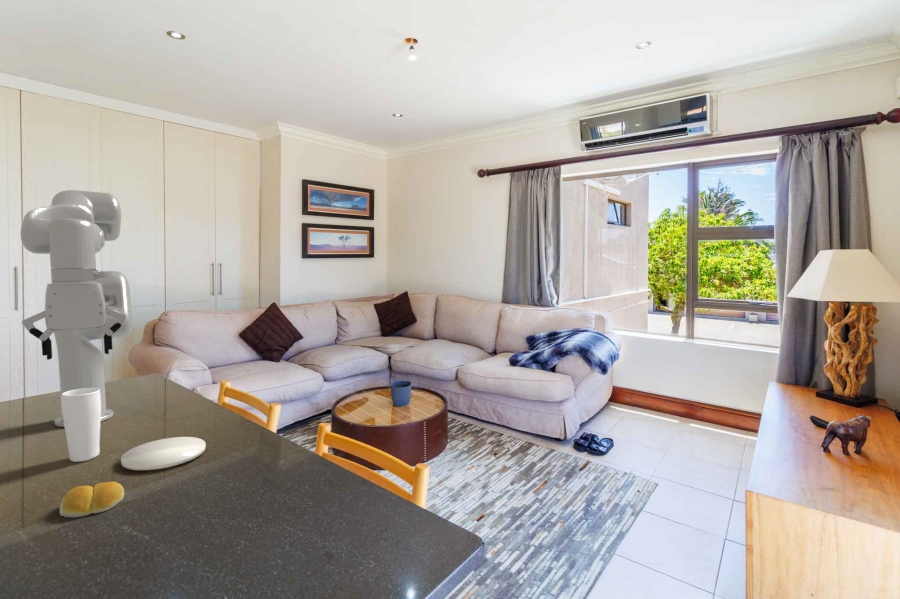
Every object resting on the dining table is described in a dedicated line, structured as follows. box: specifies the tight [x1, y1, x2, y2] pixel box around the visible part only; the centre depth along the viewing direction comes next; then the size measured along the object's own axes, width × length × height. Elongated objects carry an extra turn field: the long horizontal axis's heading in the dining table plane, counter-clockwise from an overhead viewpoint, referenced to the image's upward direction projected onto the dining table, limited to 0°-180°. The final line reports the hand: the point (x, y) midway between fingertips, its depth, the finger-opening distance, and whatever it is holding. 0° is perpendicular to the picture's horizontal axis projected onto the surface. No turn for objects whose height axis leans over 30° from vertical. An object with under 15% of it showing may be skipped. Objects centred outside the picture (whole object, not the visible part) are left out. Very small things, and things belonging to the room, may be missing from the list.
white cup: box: [60, 388, 102, 463], centre depth 101 cm, size 7×7×15 cm
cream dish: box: [120, 436, 207, 471], centre depth 102 cm, size 16×16×2 cm
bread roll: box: [59, 481, 125, 518], centre depth 81 cm, size 8×9×4 cm
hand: (79, 355), depth 99 cm, fingers open, 9 cm apart
